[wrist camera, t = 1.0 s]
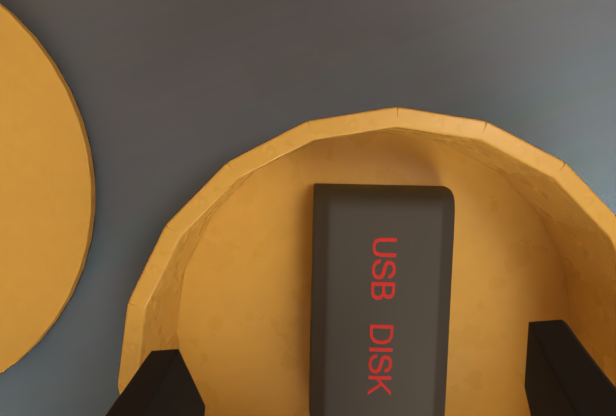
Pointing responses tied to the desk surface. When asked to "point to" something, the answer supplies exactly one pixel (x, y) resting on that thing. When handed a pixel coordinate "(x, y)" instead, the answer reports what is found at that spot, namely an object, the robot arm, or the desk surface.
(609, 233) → the tin
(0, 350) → the tin lid
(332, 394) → the usb drive
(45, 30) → the desk surface
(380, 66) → the desk surface
